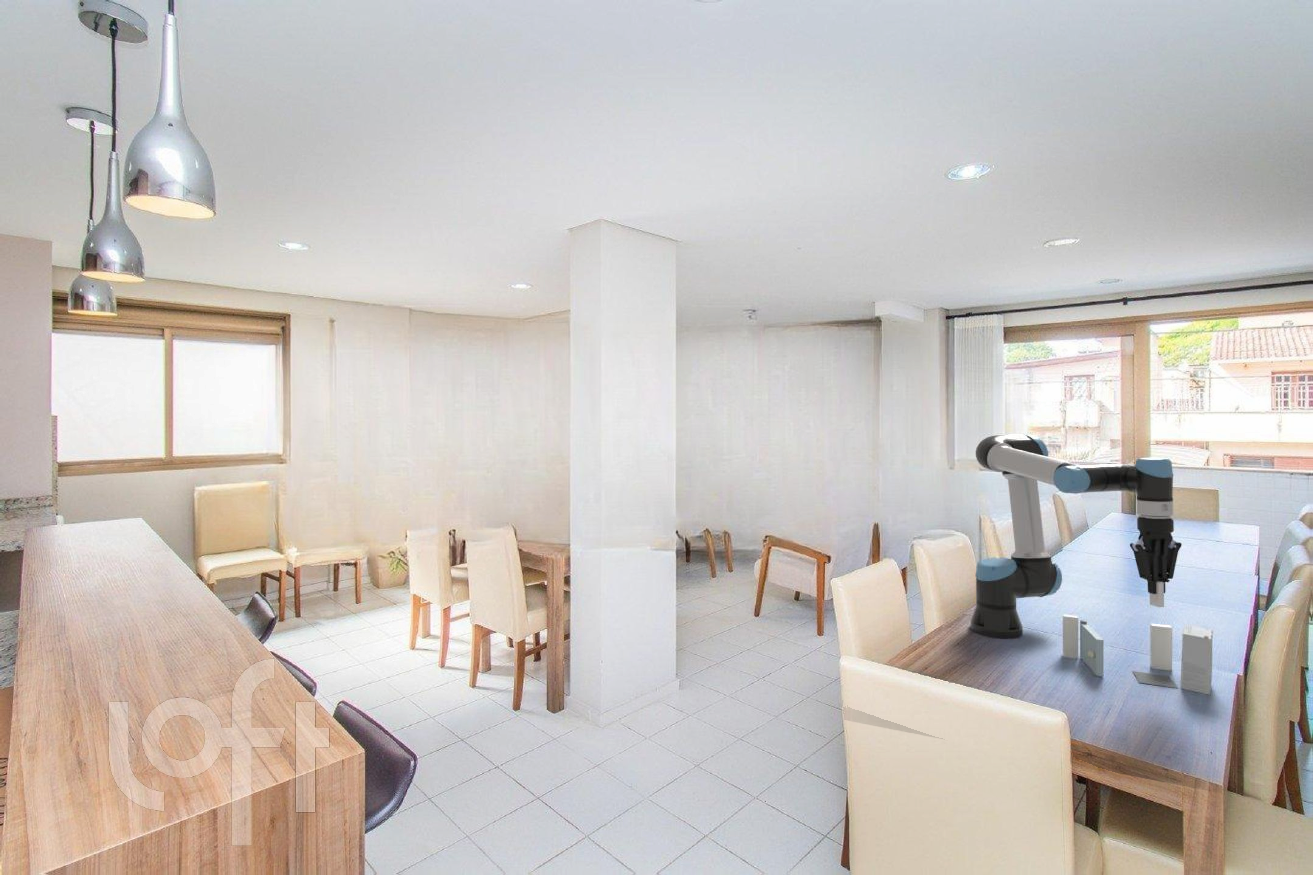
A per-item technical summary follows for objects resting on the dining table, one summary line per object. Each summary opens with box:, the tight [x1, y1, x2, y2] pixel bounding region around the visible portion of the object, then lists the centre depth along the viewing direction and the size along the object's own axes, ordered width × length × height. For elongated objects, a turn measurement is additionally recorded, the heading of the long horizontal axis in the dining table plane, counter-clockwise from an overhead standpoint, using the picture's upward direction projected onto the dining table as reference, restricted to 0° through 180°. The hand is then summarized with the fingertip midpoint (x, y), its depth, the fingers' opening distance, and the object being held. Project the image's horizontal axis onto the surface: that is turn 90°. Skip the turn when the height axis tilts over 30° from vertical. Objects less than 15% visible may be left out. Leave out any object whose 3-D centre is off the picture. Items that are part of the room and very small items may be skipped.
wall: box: [1062, 614, 1173, 672], centre depth 179 cm, size 25×2×12 cm, turn 63°
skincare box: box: [1180, 624, 1214, 696], centre depth 162 cm, size 8×6×15 cm
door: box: [1079, 620, 1105, 677], centre depth 176 cm, size 15×3×11 cm, turn 161°
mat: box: [1132, 670, 1179, 689], centre depth 167 cm, size 8×8×1 cm
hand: (1156, 605), depth 165 cm, fingers closed
